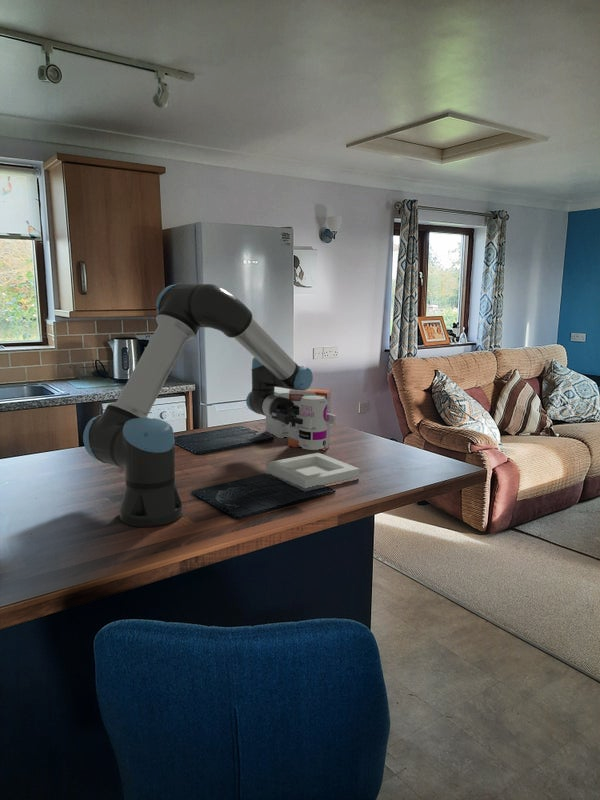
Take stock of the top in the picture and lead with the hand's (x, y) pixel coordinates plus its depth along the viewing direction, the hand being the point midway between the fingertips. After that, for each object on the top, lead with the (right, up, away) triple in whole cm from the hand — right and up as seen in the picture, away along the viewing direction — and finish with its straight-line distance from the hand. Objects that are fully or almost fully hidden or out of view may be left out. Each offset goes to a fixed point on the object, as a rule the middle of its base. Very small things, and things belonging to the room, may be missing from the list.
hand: (323, 421), depth 164 cm
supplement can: (-3, -8, +5) cm, 10 cm away
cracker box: (-3, -11, +40) cm, 41 cm away
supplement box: (-12, -7, +59) cm, 61 cm away
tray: (-3, -17, +7) cm, 18 cm away
